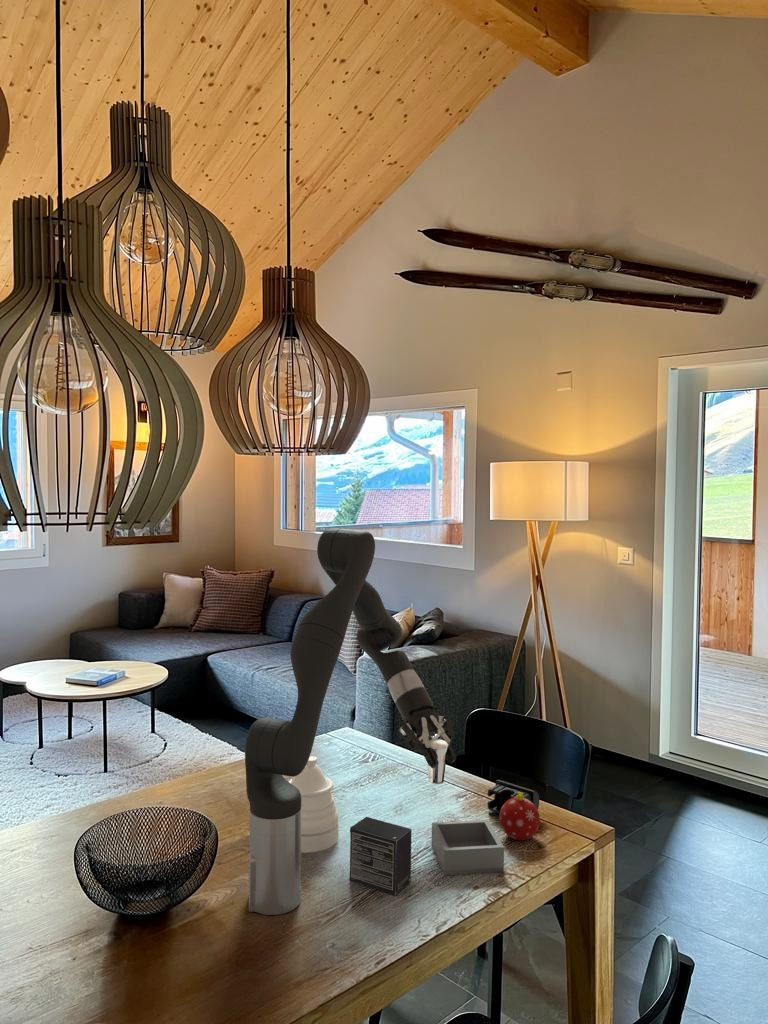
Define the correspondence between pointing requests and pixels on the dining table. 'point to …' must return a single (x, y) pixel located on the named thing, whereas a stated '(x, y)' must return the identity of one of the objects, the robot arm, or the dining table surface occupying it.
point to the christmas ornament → (519, 818)
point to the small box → (380, 855)
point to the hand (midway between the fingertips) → (444, 763)
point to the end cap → (508, 796)
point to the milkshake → (441, 753)
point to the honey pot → (316, 808)
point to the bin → (467, 847)
